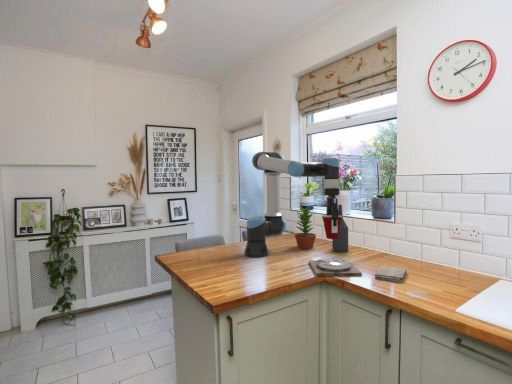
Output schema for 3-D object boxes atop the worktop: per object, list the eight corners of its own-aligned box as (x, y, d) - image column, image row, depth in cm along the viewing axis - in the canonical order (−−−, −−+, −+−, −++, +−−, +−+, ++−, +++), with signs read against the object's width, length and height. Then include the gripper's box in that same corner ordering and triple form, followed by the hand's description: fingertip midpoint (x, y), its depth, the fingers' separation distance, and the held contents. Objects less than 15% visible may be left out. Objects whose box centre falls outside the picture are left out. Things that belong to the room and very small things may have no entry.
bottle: (349, 249, 191) (349, 204, 190) (346, 252, 183) (346, 205, 182) (334, 247, 197) (334, 203, 196) (330, 250, 188) (330, 205, 187)
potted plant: (290, 246, 203) (290, 203, 202) (309, 244, 208) (309, 203, 207) (299, 250, 189) (299, 205, 188) (320, 248, 194) (320, 204, 193)
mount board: (315, 276, 139) (315, 269, 139) (308, 263, 161) (308, 256, 161) (361, 276, 138) (361, 268, 138) (348, 263, 160) (348, 256, 160)
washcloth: (374, 280, 134) (373, 273, 134) (380, 269, 149) (380, 263, 149) (402, 284, 128) (402, 277, 127) (406, 273, 143) (406, 267, 143)
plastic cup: (341, 235, 153) (340, 213, 153) (344, 240, 143) (344, 216, 142) (320, 235, 155) (320, 213, 154) (322, 240, 144) (322, 216, 143)
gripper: (345, 187, 136) (345, 234, 137) (334, 187, 159) (334, 227, 159) (328, 188, 137) (329, 234, 137) (320, 187, 159) (320, 227, 160)
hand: (332, 230), depth 148 cm, fingers closed on plastic cup, 10 cm apart
